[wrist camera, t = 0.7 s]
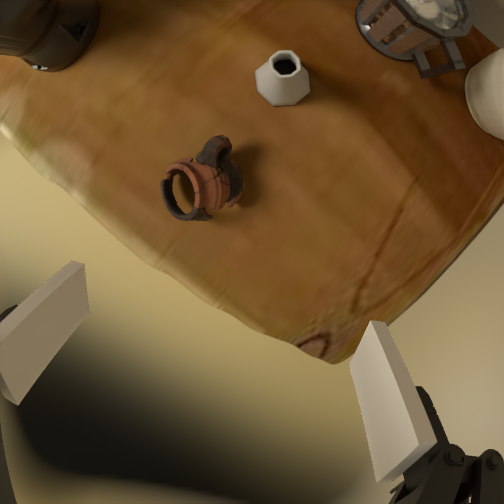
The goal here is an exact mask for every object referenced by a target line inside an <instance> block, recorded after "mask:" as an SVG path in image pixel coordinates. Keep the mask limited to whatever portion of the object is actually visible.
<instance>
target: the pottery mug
mask: <svg viewBox="0 0 504 504" xmlns="http://www.w3.org/2000/svg"><path fill="white" fill-rule="evenodd" d="M231 150H232V144H231V143H230V140H229V139H228V138H227V137H225V136H224V135H219V136H215V137H212V138H211V139H210V140H209V141H208V142H207V143H206V144H205V146H204V148H203V150H202V152H199V153H198V154H197V155H196V158H195V159H196V161H197V162H192V161H193V158H182V159H180V160H178V161H176V162H174V163H172V164H170V165H168V167H167V168H166V169H165V172H166V173H167V174H168V177H167V179H165V180H162V181H161V194H162V198H163V201H164V203H165V204H166V207H167V209H168V210H169V211H170V213H171V214H172V215H173V216H174V217H175V218H177V219H179V220H184V221H188V220H192V221H193V220H196V221H208V220H209V219H211V218H212V216H211V215H208V214H207V213H206V211H205V208H204V207H206V208H208V209H213V210H219V209H221V208H223V206H224V204H225V202H229V201H230V202H229V204H228V207H229V208H231V207H232V206H233V205H234V204H235V203H237V202H238V200H239V199H240V197H241V195H242V191H243V177H242V173H241V171H240V169H239V167H238V166H237V165H236V163H232V162H230V161H231V160H230V154H231ZM217 168H220V169H222V172H221V173H220V174H218V170H217ZM180 170H182V171H184V172H185V173H186V174H187V175H188V177H189V178H190V180H191V182H192V184H193V187H194V191H195V203H194V208H193V209H192V211H191V212H190V213H188V214H185V213H184V212H183V211H182V210H181V209H180V208H179V206H178V205H177V202H176V200H175V197H174V195H173V191H172V184H173V177H174V176H175V175H176V174H178V173H179V172H180Z"/></svg>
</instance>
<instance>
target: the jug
mask: <svg viewBox="0 0 504 504" xmlns="http://www.w3.org/2000/svg"><path fill="white" fill-rule="evenodd" d="M465 96H466V102H467V105H468V108H469V111H470V113H471V115H472V117H473V118H474V120H475V121H476V123H477V124H478V125H479V126H480V127H481V128H482V129H483V130H484V131H485V132H487V133H489V134H491V135H493V136H495V137H496V138H499V139H501V140H504V48H501V49H499V50H497V51H496V52H494V53H492V54H490V55H489V56H487V57H486V58H484V59H483V60H481V61H480V62H479V63H478V64H477V65H475V66H473V67H472V68H471V69H470V70H469V72H468V74H467V76H466V80H465Z"/></svg>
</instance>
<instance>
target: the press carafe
mask: <svg viewBox="0 0 504 504" xmlns="http://www.w3.org/2000/svg"><path fill="white" fill-rule="evenodd" d="M455 5H456V8H457V21H459V20H461V19H463V20H461V21H459V22H457V21H456V22H457V23H455V25H454V26H453V27H451V28H450V29H442V28H440V27H438V26H436V25H435V24H433V23H431V22H429V21H427V20H425V19H423V18H422V17H420V16H419V15H418V14H417V13H416V12H415V11H414V10H413V8H412V7H411V6H410V5H409V4H408V3H407V2H406V1H405V0H361V1H360V2H359V4H358V6H357V8H356V12H355V20H356V24H357V27H358V30H359V32H360V33H361V35H362V37H363V38H364V39H365V41H366V42H367V43H368V44H369V45H370V46H371V47H372V48H373V49H375V50H376V51H377V52H379V53H380V54H382V55H384V56H386V57H388V58H391V59H394V60H399V61H410V60H414V62H415V64H416V67H417V69H418V72H419V74H420V77H421V79H425V78H430V77H434V76H437V75H441V74H444V73H448V72H451V71H455V70H459V69H463V68H466V67H465V65H464V62H463V60H462V57H461V55H460V52H459V50H458V48H457V45H456V43H455V41H454V39H455V38H462V37H464V36H467V35H468V33H469V31H470V29H471V27H472V25H473V23H474V21H475V16H474V12H473V9H472V5H471V2H470V0H459V1H458V2H456V3H455ZM439 45H441V46H442V48H443V51H444V53H445V55H446V58H447V60H448V62H447V63H444V64H441V65H439V66H436V67H433V68H430V66H429V64H428V61H427V59H426V56H425V54H424V53H425V52H426V51H428V50H430V49H432V48H435V47H437V46H439Z"/></svg>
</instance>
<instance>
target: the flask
mask: <svg viewBox="0 0 504 504" xmlns="http://www.w3.org/2000/svg"><path fill="white" fill-rule="evenodd" d="M255 76H256V85H257V92H259V93H260V94H261V95H262V96H263V97H264V98H265V99H266V100H267V101H268V102H269V103H270V104H271V106H285V105H295V104H296V103H297V102H299V101H300V100H301V99H302V98H303V97H305V96H306V95H307V94H308V93H309V92H310V84H309V76H308V71H307V70H306V69H305V68H304V67H303V66H302V65H301V62H300V58H299V57H298V56H297V55H296V54H295V53H294V52H293V51H292V50H284V51H278V52H276V53H275V54H274V55H273V56H271V57H270V58H269V60H268V61H267V62H266V63H264V64H263V65H262V66H261V67H260V68H258V69H257V70H256V71H255Z"/></svg>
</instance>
